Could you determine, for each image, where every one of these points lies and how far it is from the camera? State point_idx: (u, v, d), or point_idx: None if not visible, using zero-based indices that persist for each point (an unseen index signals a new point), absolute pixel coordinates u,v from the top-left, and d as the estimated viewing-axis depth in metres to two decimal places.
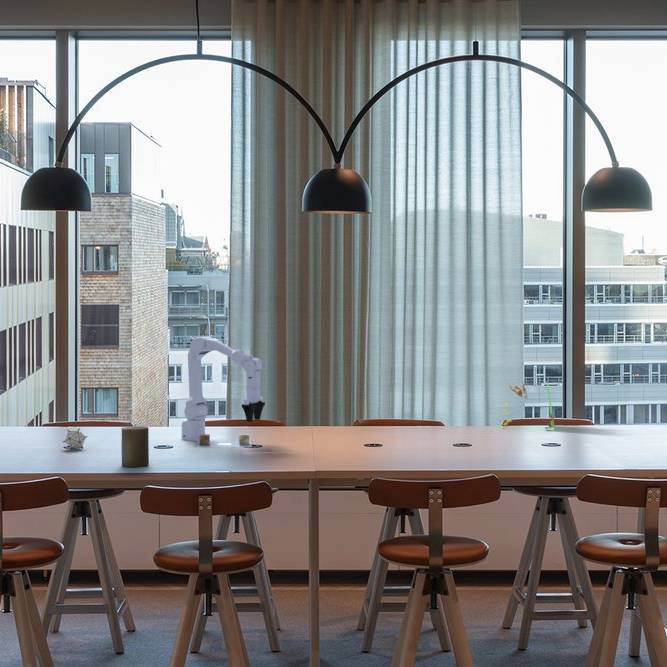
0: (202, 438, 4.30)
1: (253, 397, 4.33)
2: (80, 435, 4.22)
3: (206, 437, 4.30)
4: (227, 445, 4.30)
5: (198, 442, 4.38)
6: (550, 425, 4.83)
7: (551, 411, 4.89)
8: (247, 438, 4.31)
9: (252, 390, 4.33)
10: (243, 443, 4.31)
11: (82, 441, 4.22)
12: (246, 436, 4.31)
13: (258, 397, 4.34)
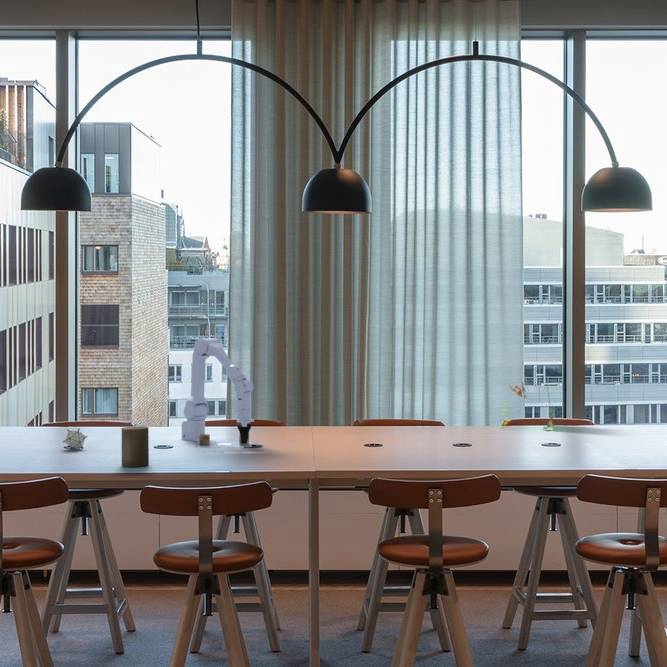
0: (202, 438, 4.30)
1: (247, 419, 4.31)
2: (80, 435, 4.22)
3: (206, 437, 4.30)
4: (227, 445, 4.30)
5: (198, 442, 4.38)
6: (548, 425, 4.84)
7: (550, 411, 4.89)
8: None
9: (246, 412, 4.30)
10: (243, 443, 4.31)
11: (82, 441, 4.22)
12: None
13: (250, 418, 4.32)
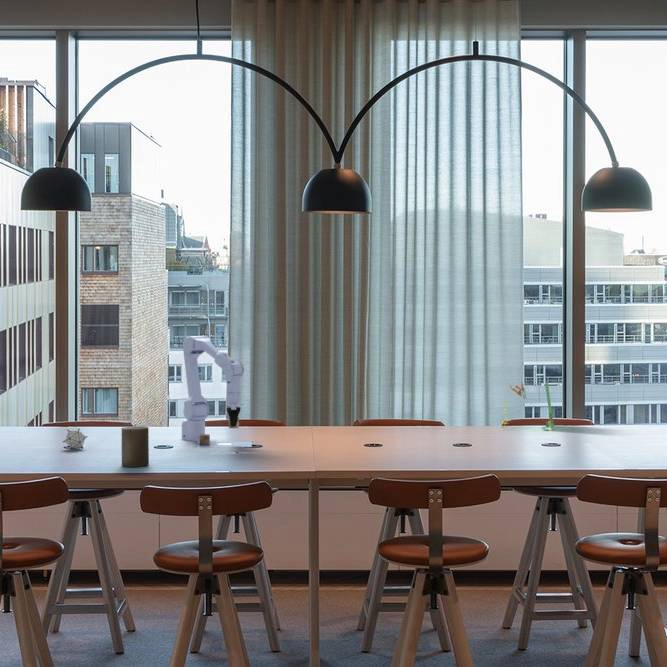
0: (202, 438, 4.30)
1: (236, 402, 4.30)
2: (80, 435, 4.22)
3: (206, 437, 4.30)
4: (227, 445, 4.30)
5: (198, 442, 4.38)
6: (547, 425, 4.84)
7: None
8: (237, 421, 4.31)
9: (235, 395, 4.30)
10: (233, 426, 4.31)
11: (82, 441, 4.22)
12: None
13: (240, 401, 4.32)
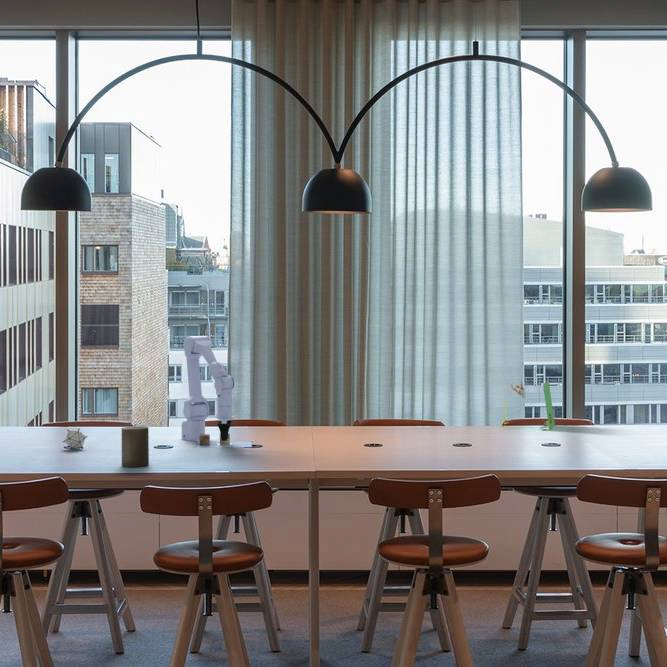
0: (202, 438, 4.30)
1: (227, 415, 4.30)
2: (80, 435, 4.22)
3: (206, 437, 4.30)
4: (227, 445, 4.30)
5: (198, 442, 4.38)
6: (545, 424, 4.85)
7: (549, 411, 4.91)
8: (227, 438, 4.31)
9: (226, 408, 4.30)
10: (223, 443, 4.31)
11: (82, 441, 4.22)
12: None
13: None
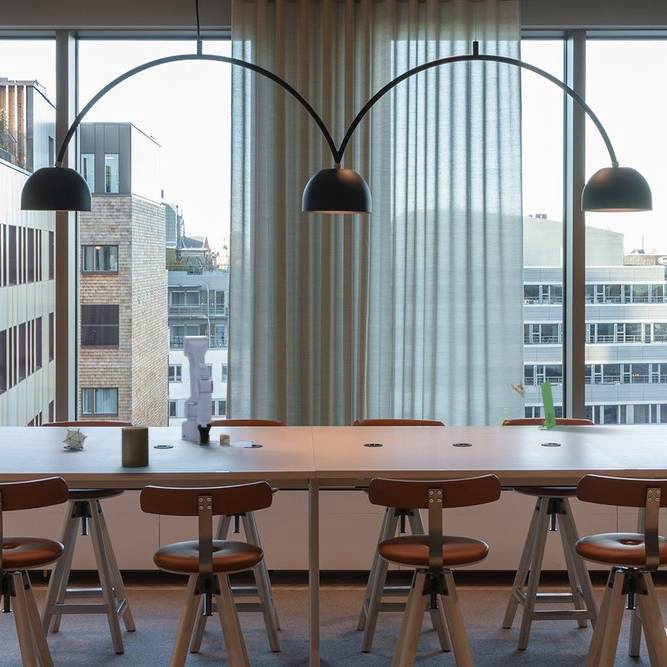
0: None
1: (207, 419, 4.29)
2: (80, 435, 4.22)
3: None
4: (227, 445, 4.30)
5: (198, 442, 4.38)
6: (543, 424, 4.87)
7: (548, 410, 4.92)
8: (227, 438, 4.31)
9: (206, 412, 4.29)
10: (223, 443, 4.31)
11: (82, 441, 4.22)
12: (226, 436, 4.31)
13: (211, 419, 4.31)
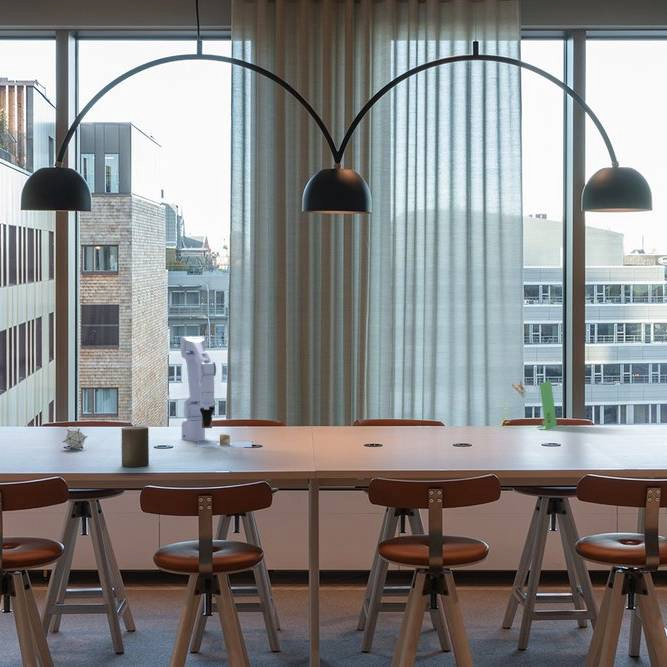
0: None
1: (209, 401, 4.29)
2: (80, 435, 4.22)
3: None
4: (227, 445, 4.30)
5: (198, 442, 4.38)
6: (542, 424, 4.87)
7: (547, 410, 4.92)
8: (227, 438, 4.31)
9: (208, 394, 4.29)
10: (223, 443, 4.31)
11: (82, 441, 4.22)
12: (226, 436, 4.31)
13: (213, 401, 4.31)
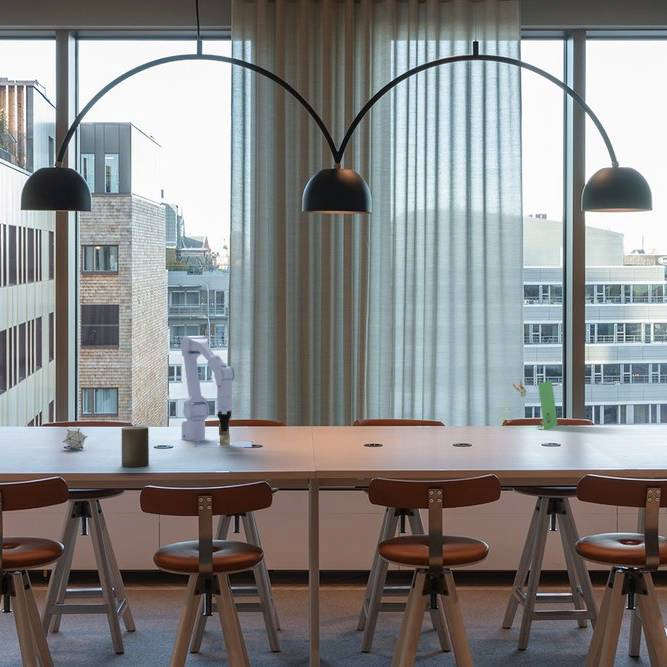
0: None
1: (227, 406, 4.30)
2: (80, 435, 4.22)
3: None
4: (227, 445, 4.30)
5: (198, 442, 4.38)
6: (541, 424, 4.88)
7: (547, 410, 4.93)
8: (227, 438, 4.31)
9: (226, 399, 4.29)
10: (223, 443, 4.31)
11: (82, 441, 4.22)
12: (226, 436, 4.31)
13: None
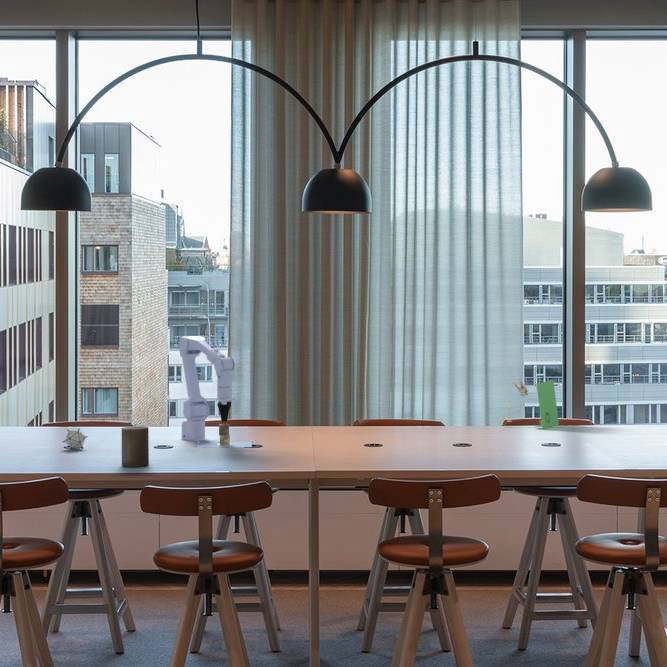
0: (221, 428, 4.30)
1: (227, 396, 4.29)
2: (80, 435, 4.22)
3: (225, 427, 4.30)
4: (227, 445, 4.30)
5: (198, 442, 4.38)
6: (540, 423, 4.89)
7: (546, 410, 4.94)
8: (227, 438, 4.31)
9: (226, 389, 4.29)
10: (223, 443, 4.31)
11: (82, 441, 4.22)
12: (226, 436, 4.31)
13: (230, 396, 4.31)
